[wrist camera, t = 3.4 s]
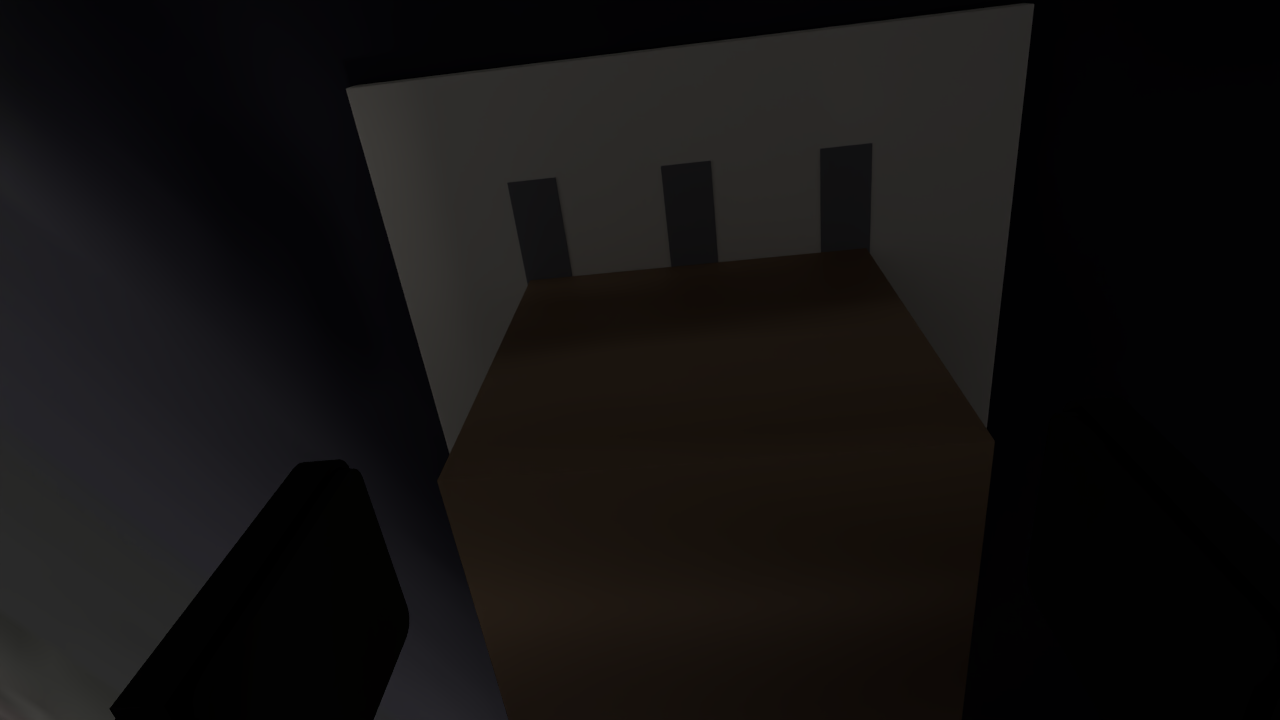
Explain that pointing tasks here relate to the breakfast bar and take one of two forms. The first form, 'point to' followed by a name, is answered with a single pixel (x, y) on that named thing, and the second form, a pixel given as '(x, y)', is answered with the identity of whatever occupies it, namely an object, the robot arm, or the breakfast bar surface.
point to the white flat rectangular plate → (707, 175)
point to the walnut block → (722, 499)
